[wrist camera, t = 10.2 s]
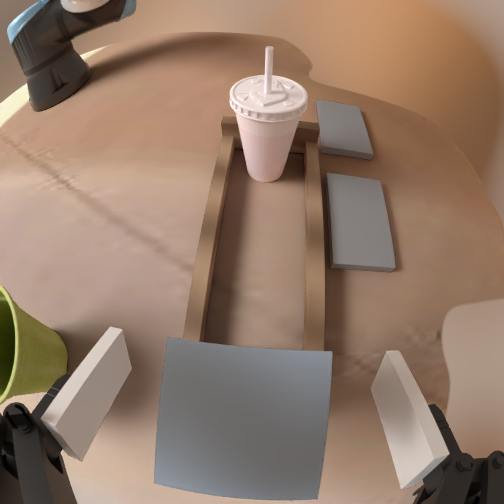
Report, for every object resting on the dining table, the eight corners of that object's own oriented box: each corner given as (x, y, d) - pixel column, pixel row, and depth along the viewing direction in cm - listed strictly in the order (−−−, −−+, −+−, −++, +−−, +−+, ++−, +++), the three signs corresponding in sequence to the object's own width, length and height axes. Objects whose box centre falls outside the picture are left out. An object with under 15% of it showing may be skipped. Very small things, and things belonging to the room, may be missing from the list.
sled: (225, 141, 30) (215, 19, 17) (313, 147, 30) (337, 28, 16) (180, 409, 18) (59, 446, 5) (313, 421, 18) (420, 480, 4)
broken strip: (316, 105, 34) (317, 99, 33) (357, 111, 34) (358, 106, 33) (330, 267, 24) (333, 263, 23) (391, 272, 23) (395, 267, 22)
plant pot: (101, 371, 19) (35, 358, 12) (47, 425, 16) (-18, 426, 9) (55, 294, 22) (-2, 257, 14) (8, 349, 19) (-50, 328, 11)
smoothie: (226, 186, 27) (213, 57, 15) (243, 144, 30) (239, 30, 17) (290, 198, 27) (312, 68, 14) (299, 154, 29) (317, 39, 17)
